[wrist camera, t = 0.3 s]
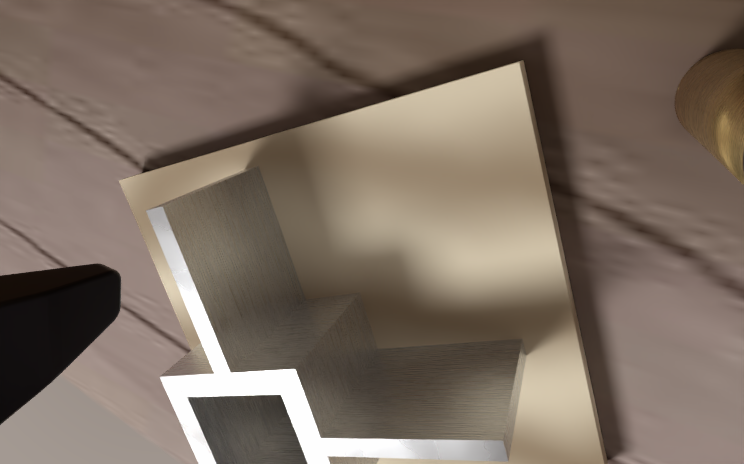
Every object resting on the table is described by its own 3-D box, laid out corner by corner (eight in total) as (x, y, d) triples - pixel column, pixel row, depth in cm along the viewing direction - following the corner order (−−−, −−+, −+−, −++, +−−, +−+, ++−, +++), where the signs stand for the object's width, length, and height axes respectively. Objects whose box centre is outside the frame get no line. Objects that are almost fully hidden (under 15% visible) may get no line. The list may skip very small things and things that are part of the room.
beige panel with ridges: (607, 461, 23) (617, 629, 17) (256, 451, 32) (172, 560, 25) (523, 59, 19) (492, 75, 12) (141, 173, 27) (3, 218, 21)
